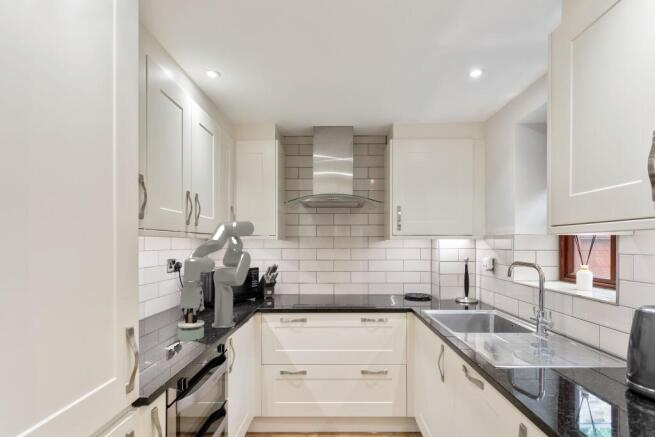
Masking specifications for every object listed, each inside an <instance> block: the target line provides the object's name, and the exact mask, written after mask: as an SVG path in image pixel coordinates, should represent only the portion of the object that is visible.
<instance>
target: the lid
mask: <svg viewBox="0 0 655 437" xmlns="http://www.w3.org/2000/svg"><path fill="white" fill-rule="evenodd" d="M193 315H194V313H193V312H189V313H188V323H185V321H182V320H181V321H182V322H181V321H179V322H178V323H177V327H178V328H180V327H181V328H194V327H199V326H204V325H205V321H204V320H202V319H198V320H197V322H196V323H194V324H193V323H192V316H193Z"/></svg>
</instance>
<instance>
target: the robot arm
mask: <svg viewBox="0 0 655 437" xmlns="http://www.w3.org/2000/svg"><path fill="white" fill-rule="evenodd" d="M254 231H255V226H254V224H253V222H252V221H249V220H248V221H243V220H241V221H239V220H238V221H236V220H232V221H227V220H226V221H221V222H219V223H218V224H217V226H216V228H215V229H214V231H213V232H212V234H211V235H210V238H208V240H206V241H204V242H203V243H201V244H200V245H199V246H197V247H195V249H193V251H192V252H191V254H190V255H189V257H188V258H186V259H185V260H184V261H183V262H184V264H183V287H182V288H181V293H180V294H181V295H180V301H179V306H178V309H179V310H180V311H182V312H183V315H184V316H185V317H184V319H185V323H188V313H190V311H191V309H192V313H194V315H193V316H192V323H193V324H194V323H196V322H197V320H199V318H198V317H199V316H198V315H199V314H200V312H202V311H203V310H205V306H204V304H205V303H204V292H203V291H204V290H203V287H202V286H203V283H204V282H202V281H201V273H204V274H205V273H207V274H208V273H211V272H212V271H213V270H214V269H215V267H216V262H215V260H214V259H213V258H211V257H207V256H208V255H210V254H213V253H216V252H218V251H221V250H222V249H223V248H224V247H225V244H226V243H227V242H228V245H227V247H226V250H225V253H224V254H223V257H222V265H223V266H224V267H220V268H217V269H216V270H215V271H214V273H213V282H214V322H212V323H211V328H214V329H228V328H232V327H234V326H236V322H235V321H233V320H234V319H235V315H234V314H233V311H234V309H233V307H234V292H233V288H232V287H240V286H243V284H244V283H245V281H246V278H247V276H248V273H249V269H250V267H251V264H252V263H251V261H252V257H251V255H250V253H249V252H247V251H243V250H244V243H243V241H242V239H241V237H249V236H252V235H253V234H254Z"/></svg>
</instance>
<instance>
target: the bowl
mask: <svg viewBox="0 0 655 437" xmlns="http://www.w3.org/2000/svg"><path fill="white" fill-rule="evenodd" d="M204 336H205V327H204V325H202V326H199V327H194V328H181V327H178V328H177V339H178V341H182V340H183V341H184V342H185V341H186V342H189V341H196V339H198V340H200V339H202V338H204Z"/></svg>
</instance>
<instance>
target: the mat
mask: <svg viewBox="0 0 655 437" xmlns="http://www.w3.org/2000/svg"><path fill="white" fill-rule="evenodd" d="M179 343H180V342H175V343H173V344H170V345H169V346H167V347H164V348H163V350H167V351H168V350H170V349H173V348H174V346H176V345H177V344H179ZM170 351H171V350H170Z"/></svg>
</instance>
